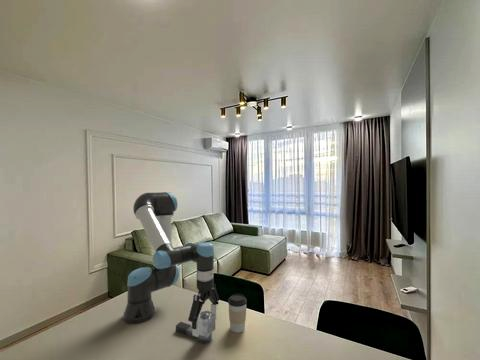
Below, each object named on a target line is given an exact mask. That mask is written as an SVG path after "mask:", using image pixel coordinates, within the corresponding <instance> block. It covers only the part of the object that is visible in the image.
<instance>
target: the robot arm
mask: <svg viewBox="0 0 480 360" xmlns="http://www.w3.org/2000/svg"><path fill="white" fill-rule="evenodd" d="M132 208H133V214H134V216H135V218H136V219H137V220H139V222H140V224H141V225H142V227H143V229H144V232H145V234H146V236H147V238H148V240H149V242H150V244H151V246H152V248H153V250H154V253H153V256H152V261H153V265H152V266H153V267H152V268H151V267H148V266H144V267H138V268H136V269H134V270H132V271H131V272H130V273H129V274H128V275H127V283H126V285H127V296H126V297H127V300H126V301H127V303H126V307H125V309H124V312H123V322H125V323H126V324H130V325H135V324H140V323H141V324H142V323H143V322H146V321H149V320H151V319H152V318H153V317H154V316H155V311H156V310H155V305H154V302H153V299H152V293H154V292H156V291H159V290H163V289H166V288H170V287H171V286H174V285H176V283H177V282H178V281H179V277H180V269H179V265H181V264H186V263H189V262H193V263H195V264H196V289H197V290H198V293H197V294H193V296H192V297H193V299H192V304H191V307H190V311H189V316H188V319H187V320H188V321H189V322H191V326H192V335H193V336H196V337H198V336H199V320H198V317H199V314H200V313H201V312H202V308H203V306H204V305H205V303H206V301H207V300H209V301H210V302H211V303H210V312H212V313H215V321H216V320H217V306H218V305H219V301H220V298H219V294H218V292H217V288H216V287H217V285H216V284H215V283H214V270H215V269H214V267H215V266H214V265H215V262H214V259H215V258H214V257H215V252H214V251H215V250H214V244H213V243H212V242H208V241H207V242H199V243H198V244H196V243H194V242H186V243H184V244H183V245H181V246H177V247H174V246H173V245H172V217H173V216H174V213H175V212H176V211H177V209H178V200H177V197H176V196H175V194H174V193H172V192H166V191H164V192H144V193H142V194H140V195H139V196H138V197H137V198H136V199H135V201H134V204H133V207H132ZM195 317H196V318H195Z"/></svg>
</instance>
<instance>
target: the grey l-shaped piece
mask: <svg viewBox="0 0 480 360" xmlns="http://www.w3.org/2000/svg"><path fill="white" fill-rule="evenodd" d="M175 332H176V333H178V334H181V335H185V336H187V337H191V338H192V339H196V340H198V343H199V344H200V345H201V344H202V345H207V344H209V343H211V342H212V340H213V332H212V333H211V334H210V335H209V336H208V337H204V336H201V335H199V336H198V337H196V336H193V335H192V324H189V323H186V322H183V321H179V323H177V324H176V325H175Z"/></svg>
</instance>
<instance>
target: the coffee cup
mask: <svg viewBox="0 0 480 360" xmlns="http://www.w3.org/2000/svg"><path fill="white" fill-rule="evenodd" d="M227 303H228V317H229V325H230V326H229V328H230V331H231V332H232V333H236V334H238V333H243V332H244V331H245V329H246V328H245V327H246V320H247V319H246V317H247V303H248V300H247V298H246V297H245V296H244V295H243V294H242V293H239V292H238V293H235V294H232V295H231V296H229V298H228V301H227Z"/></svg>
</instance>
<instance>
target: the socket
mask: <svg viewBox="0 0 480 360" xmlns="http://www.w3.org/2000/svg"><path fill="white" fill-rule="evenodd" d="M195 318H196V317H195ZM198 320H199V335H201V336H204V337H208V336H209V335H210V334H211V333H212V334H213V332H214V331H215V330H216V320H215V313H212V312H211V311H209V310H205V309H204V310H201V311H200V314H199V317H198Z"/></svg>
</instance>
